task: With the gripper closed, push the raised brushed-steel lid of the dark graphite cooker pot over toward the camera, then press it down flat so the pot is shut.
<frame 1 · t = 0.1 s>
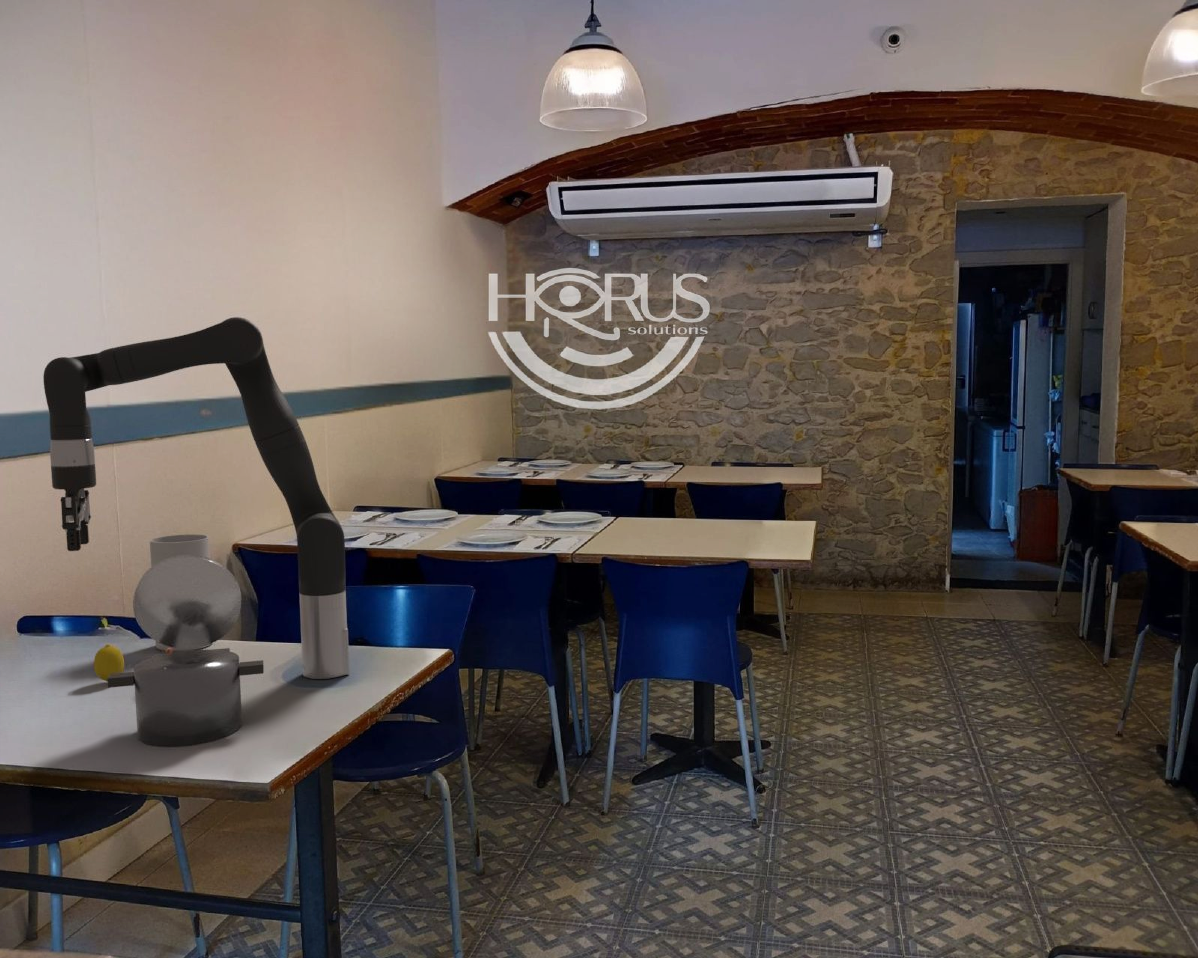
hand: (78, 547, 198), 29 cm above the table, fingers open, 8 cm apart
onion: (170, 689, 206), on the table
lemon: (110, 683, 210), on the table
cooker pot: (190, 729, 181), on the table
cooker lid: (188, 599, 187), point 21 cm above the table, hinge at 75.0°
cylinder vase: (185, 646, 239), on the table
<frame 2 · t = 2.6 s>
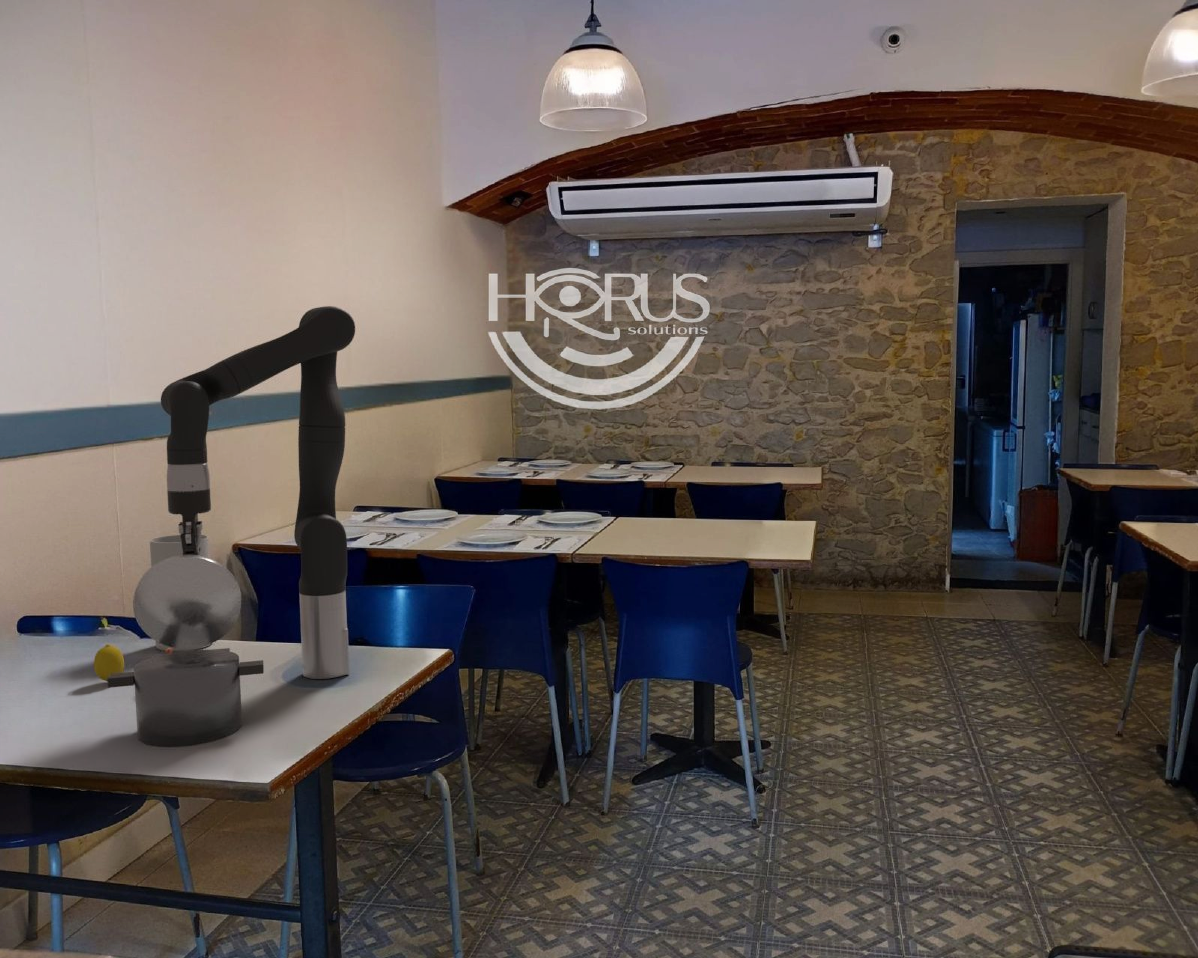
hand: (192, 578, 197), 23 cm above the table, fingers closed
nothing on the table moved.
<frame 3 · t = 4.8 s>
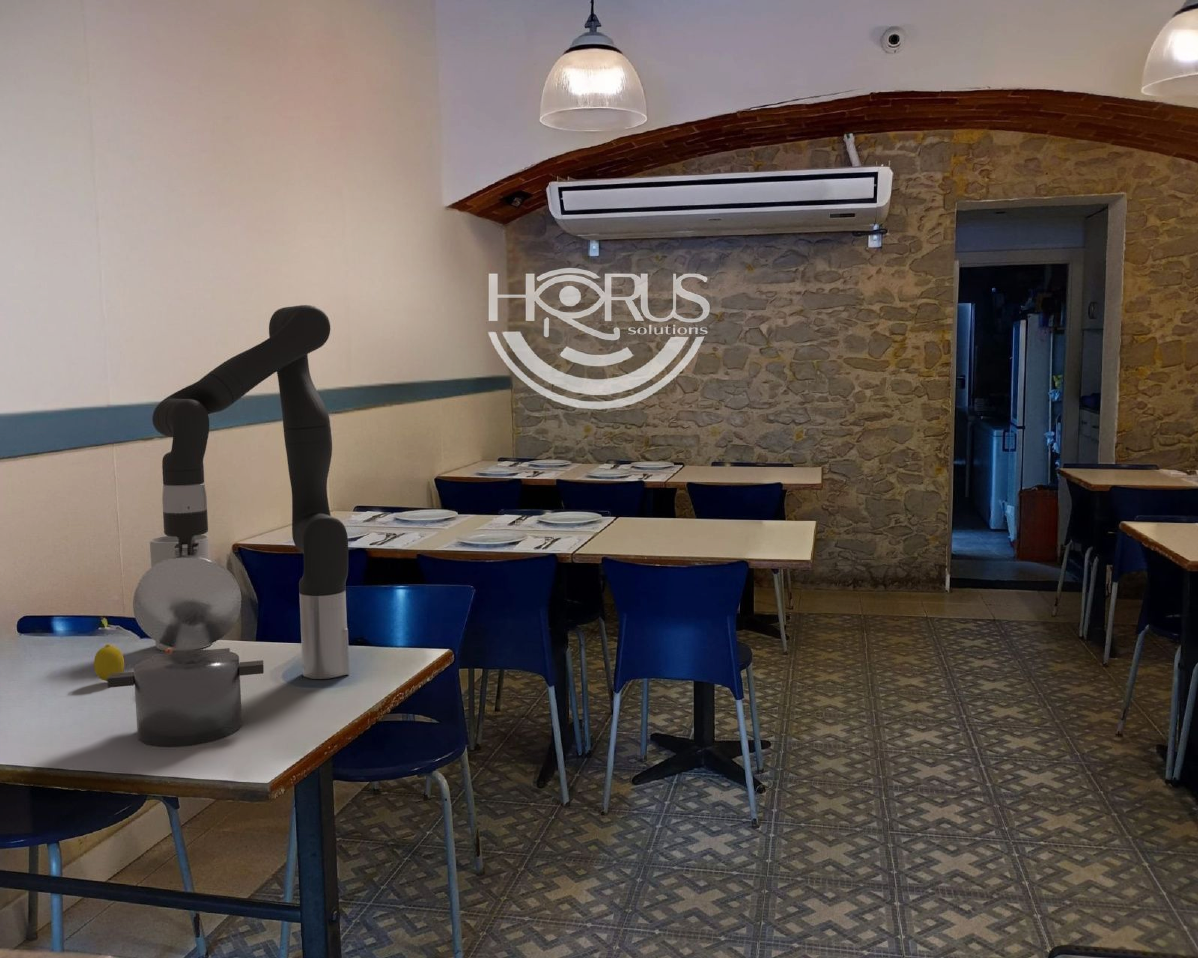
hand: (189, 601, 190), 20 cm above the table, fingers closed
cooker lid: (188, 599, 187), point 21 cm above the table, hinge at 74.3°, touching gripper
everything else where it was.
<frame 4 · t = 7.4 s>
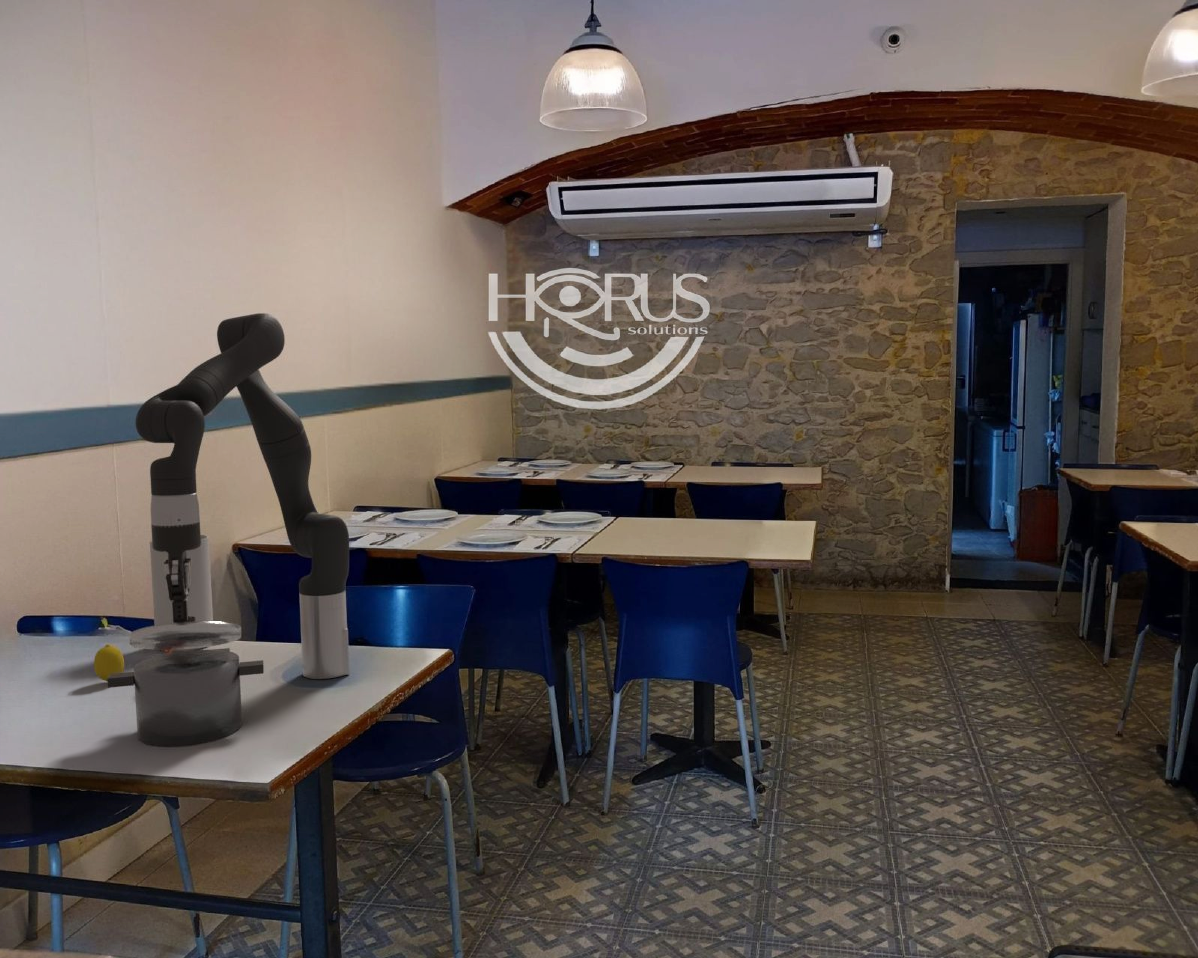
hand: (180, 622, 174), 20 cm above the table, fingers closed
cooker lid: (186, 629, 180), point 18 cm above the table, hinge at 23.1°
everything else where it was.
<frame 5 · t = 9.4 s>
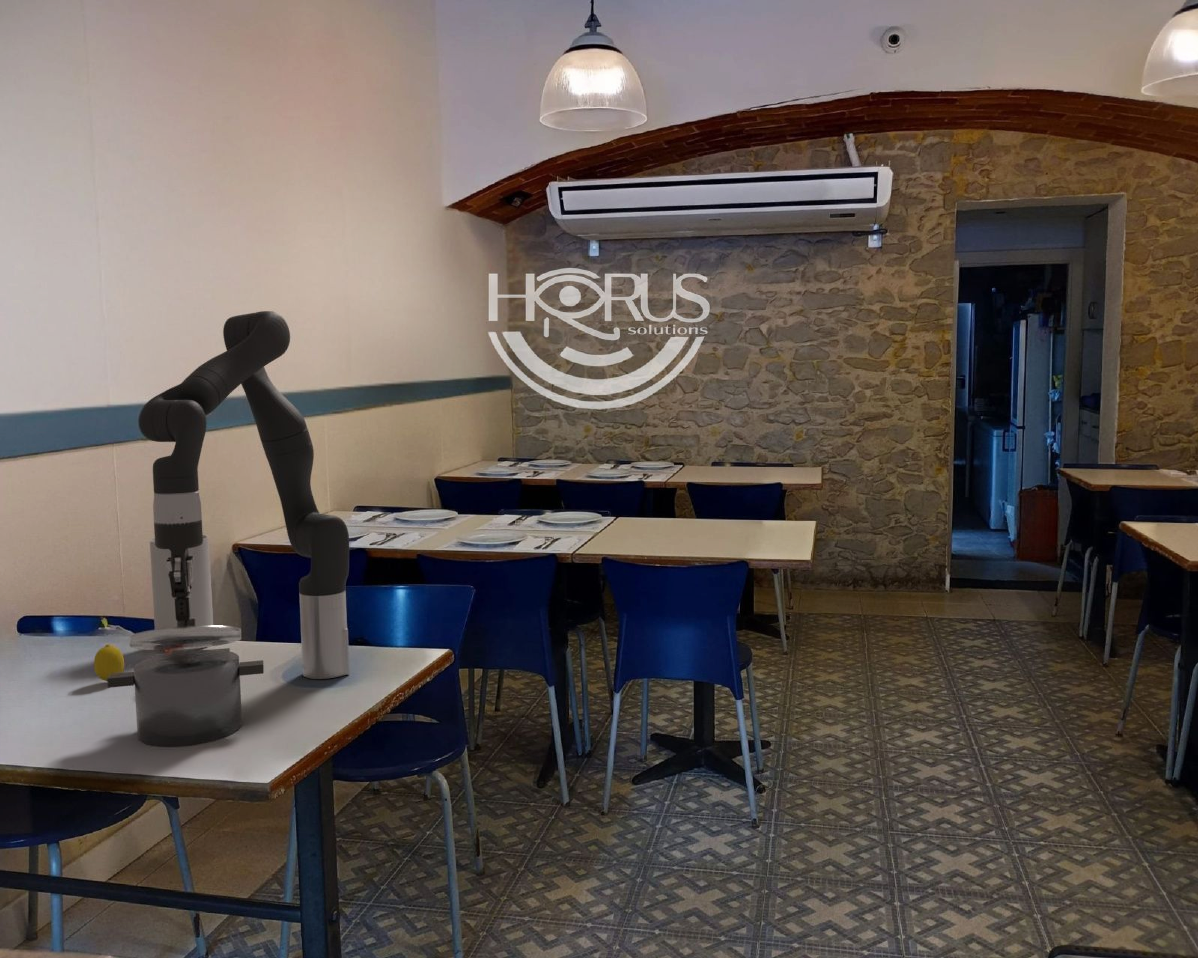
hand: (183, 619, 176), 20 cm above the table, fingers closed
cooker lid: (186, 631, 180), point 17 cm above the table, hinge at 20.8°
everything else where it was.
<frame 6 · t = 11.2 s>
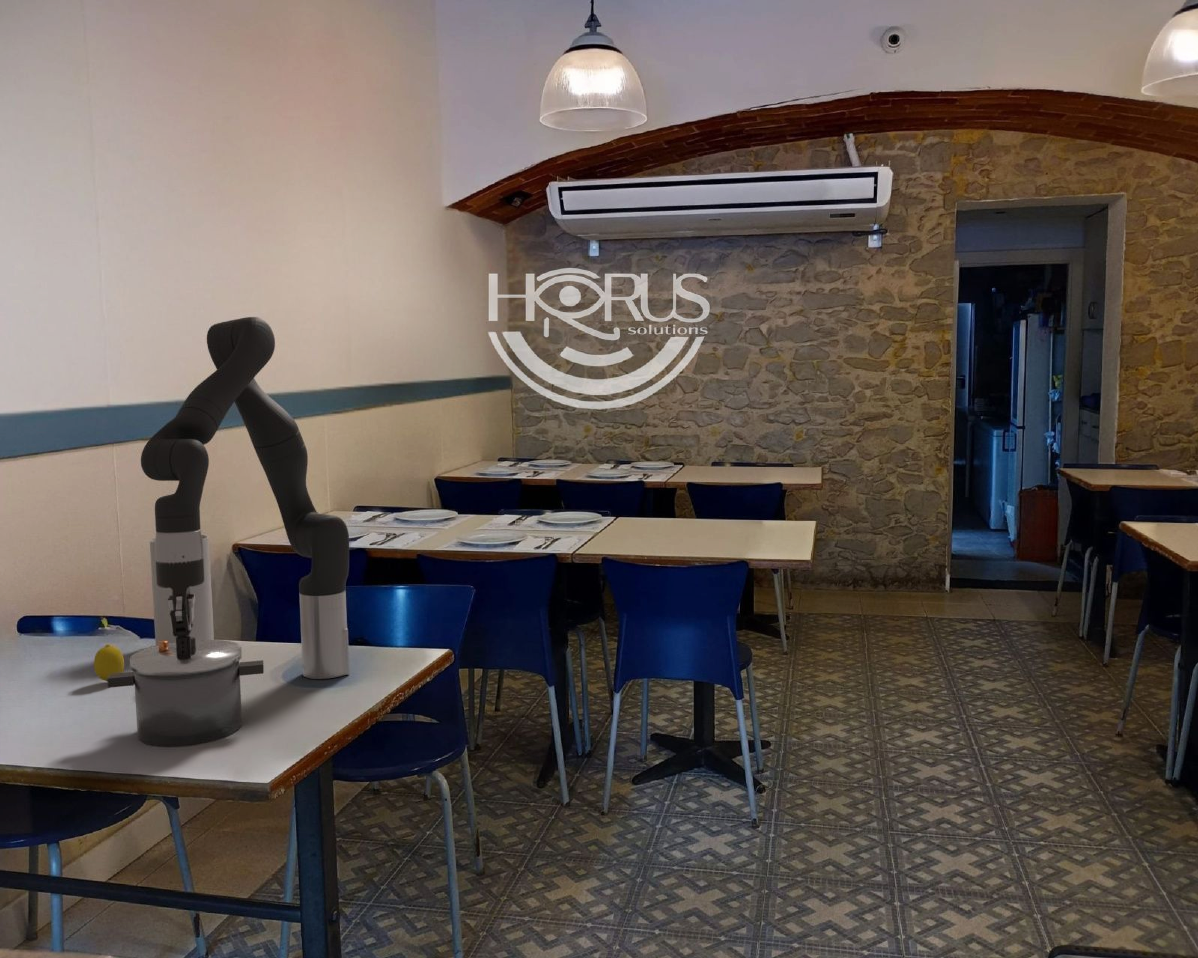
hand: (184, 657, 176), 14 cm above the table, fingers closed
cooker lid: (186, 650, 179), point 14 cm above the table, hinge at 0.1°, touching gripper
everything else where it was.
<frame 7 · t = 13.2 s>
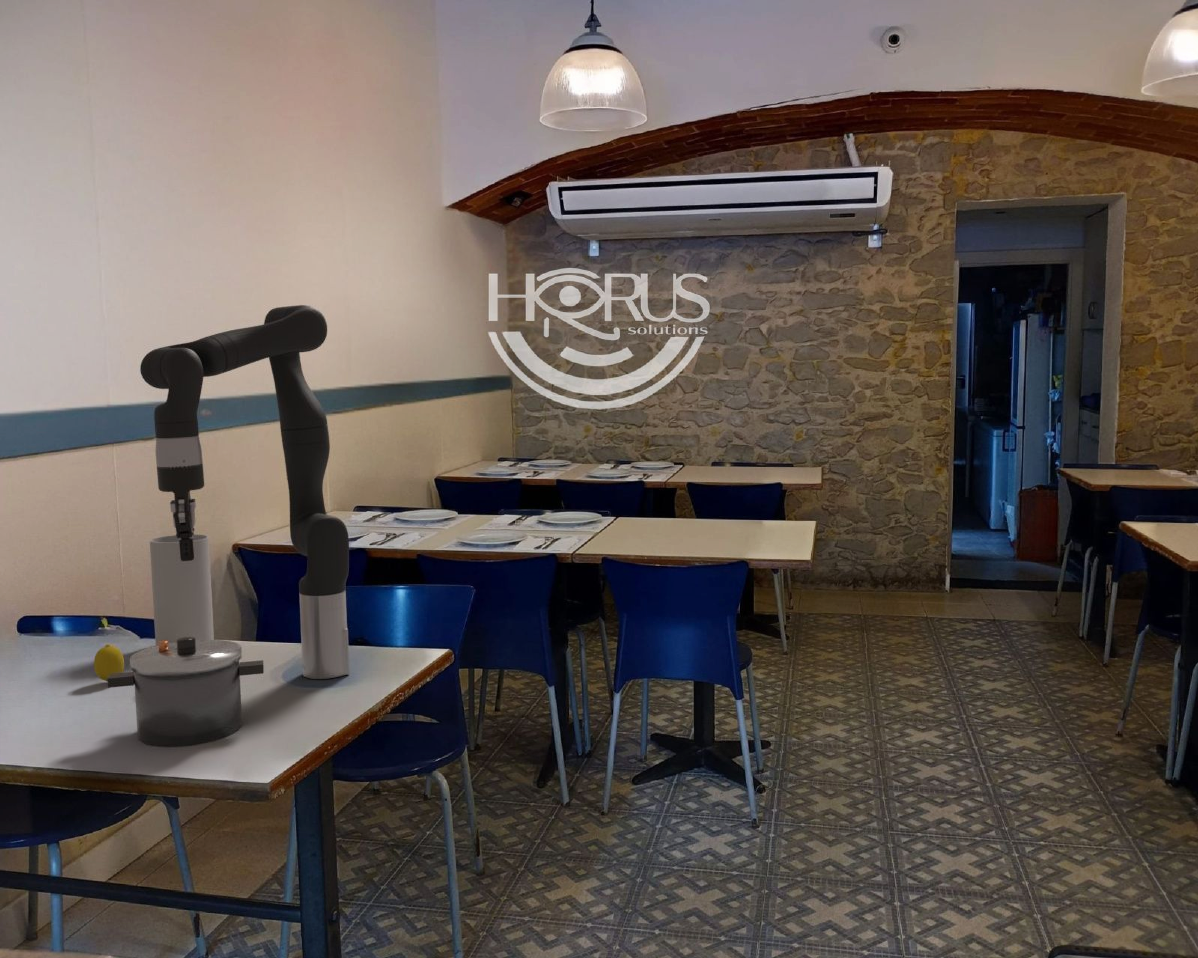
hand: (187, 559, 183), 29 cm above the table, fingers closed
cooker lid: (186, 650, 179), point 14 cm above the table, hinge at 0.0°
everything else where it was.
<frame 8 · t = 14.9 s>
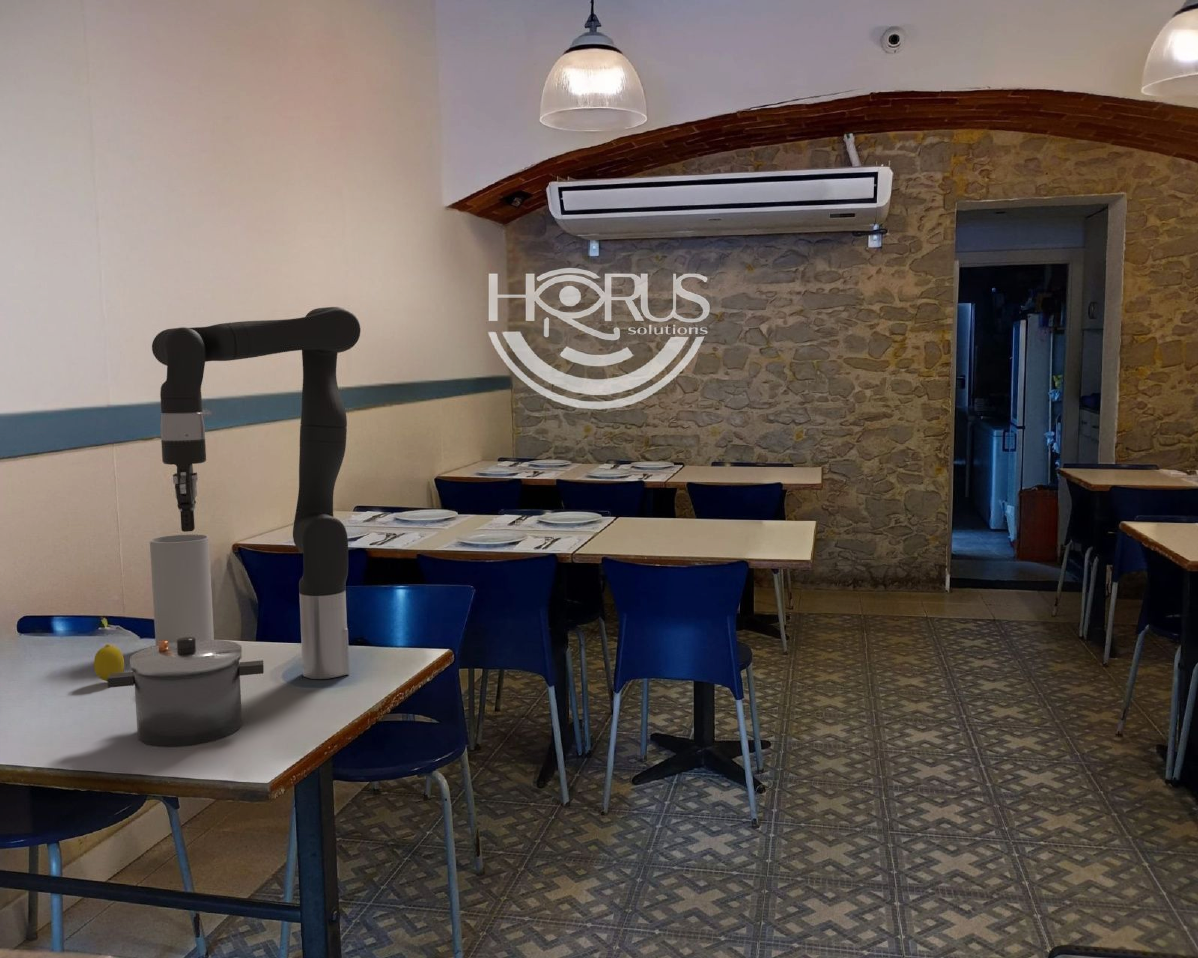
hand: (188, 530, 192), 33 cm above the table, fingers closed
nothing on the table moved.
at the end: cooker lid at +0° (first picture: +75°) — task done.
